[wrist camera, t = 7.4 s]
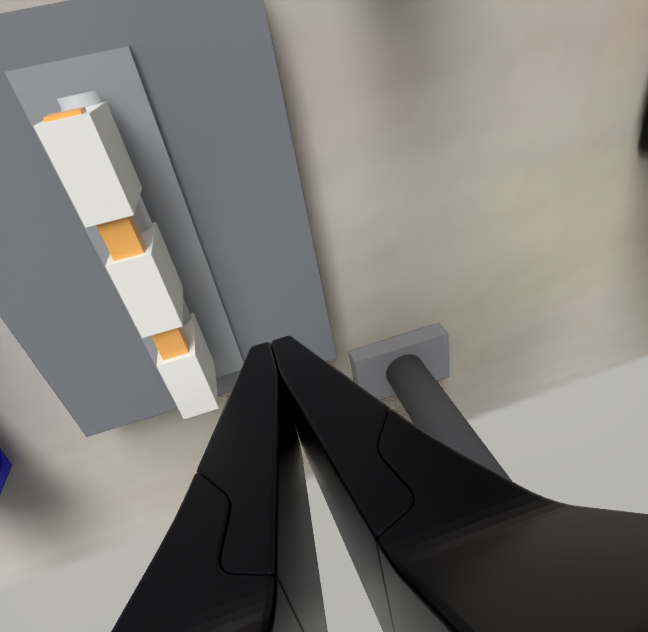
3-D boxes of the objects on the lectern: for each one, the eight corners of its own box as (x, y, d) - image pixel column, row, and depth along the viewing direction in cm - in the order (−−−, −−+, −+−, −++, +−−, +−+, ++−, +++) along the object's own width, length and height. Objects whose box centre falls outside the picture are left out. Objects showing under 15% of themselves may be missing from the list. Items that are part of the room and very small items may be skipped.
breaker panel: (247, -26, 13) (257, -38, 12) (325, 333, 21) (338, 362, 19) (-140, 49, 12) (-200, 50, 10) (94, 404, 20) (85, 442, 18)
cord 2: (438, 322, 23) (580, 477, 15) (440, 365, 25) (568, 526, 16) (348, 351, 22) (444, 529, 14) (356, 393, 24) (445, 574, 16)
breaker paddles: (102, 87, 12) (82, 98, 10) (216, 364, 18) (221, 414, 15) (57, 97, 12) (25, 111, 9) (186, 373, 17) (186, 425, 15)
